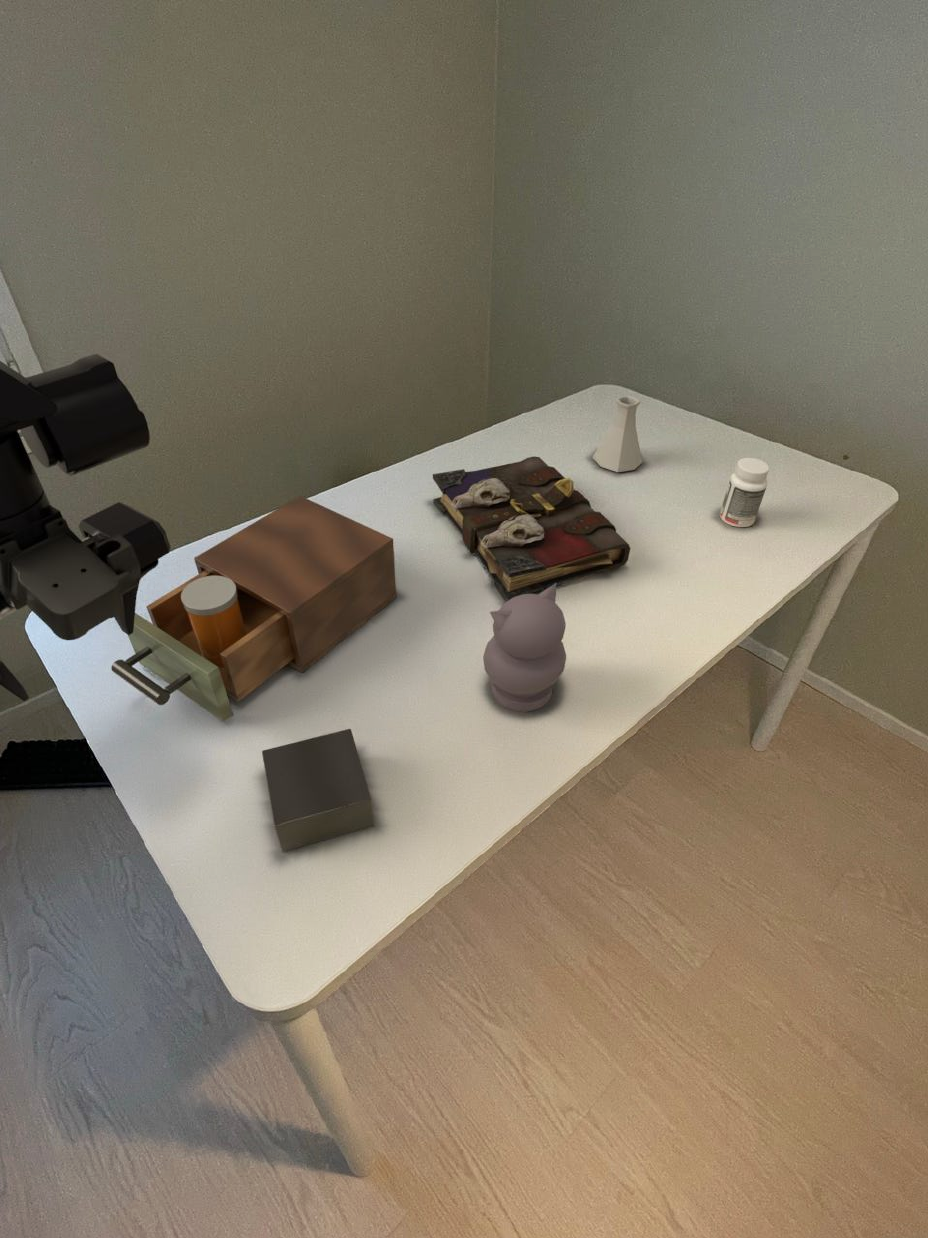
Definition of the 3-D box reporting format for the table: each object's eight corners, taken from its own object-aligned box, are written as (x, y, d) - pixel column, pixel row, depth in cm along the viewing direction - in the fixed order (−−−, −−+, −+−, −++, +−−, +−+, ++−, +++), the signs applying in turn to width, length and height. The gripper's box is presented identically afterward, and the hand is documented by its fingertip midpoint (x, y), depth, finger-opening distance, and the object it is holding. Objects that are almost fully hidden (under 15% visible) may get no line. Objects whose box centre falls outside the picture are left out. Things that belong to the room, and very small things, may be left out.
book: (631, 573, 88) (642, 525, 83) (502, 607, 83) (505, 558, 78) (536, 471, 106) (541, 426, 102) (425, 494, 101) (424, 448, 96)
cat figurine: (510, 731, 69) (519, 644, 61) (466, 682, 74) (469, 595, 66) (577, 696, 73) (593, 609, 65) (530, 651, 78) (540, 565, 70)
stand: (282, 852, 59) (274, 826, 57) (269, 777, 65) (261, 750, 62) (374, 825, 61) (371, 799, 59) (354, 754, 67) (350, 728, 64)
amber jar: (227, 674, 72) (209, 616, 66) (189, 656, 73) (169, 598, 68) (261, 643, 75) (247, 585, 70) (224, 627, 77) (207, 569, 71)
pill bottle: (761, 524, 97) (780, 471, 91) (732, 530, 96) (750, 476, 90) (740, 506, 100) (757, 453, 95) (712, 512, 99) (728, 459, 93)
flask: (616, 445, 113) (627, 385, 106) (650, 464, 109) (664, 402, 102) (583, 458, 110) (593, 397, 103) (617, 478, 105) (629, 415, 99)
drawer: (191, 748, 66) (172, 700, 61) (106, 685, 72) (83, 637, 67) (328, 640, 77) (321, 592, 73) (245, 592, 83) (234, 545, 78)
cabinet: (302, 673, 75) (290, 612, 69) (211, 617, 81) (193, 558, 75) (396, 597, 84) (393, 538, 78) (309, 552, 90) (300, 495, 85)
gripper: (-96, 625, 38) (21, 792, 48) (189, 479, 49) (234, 640, 60) (-184, 549, 42) (-60, 717, 53) (95, 433, 54) (152, 590, 64)
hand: (78, 663), depth 57 cm, fingers open, 9 cm apart
